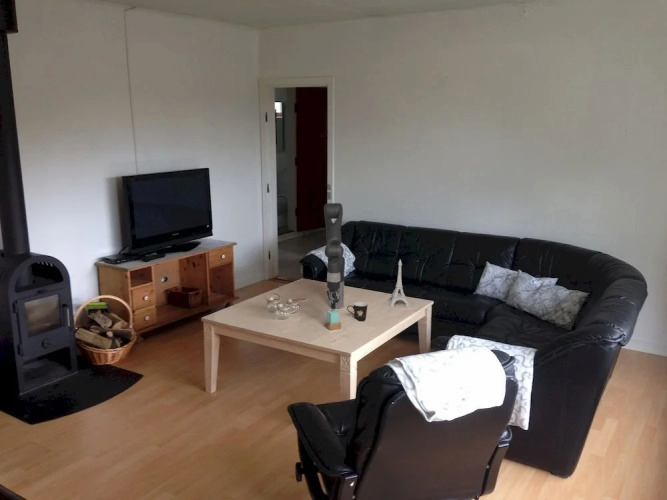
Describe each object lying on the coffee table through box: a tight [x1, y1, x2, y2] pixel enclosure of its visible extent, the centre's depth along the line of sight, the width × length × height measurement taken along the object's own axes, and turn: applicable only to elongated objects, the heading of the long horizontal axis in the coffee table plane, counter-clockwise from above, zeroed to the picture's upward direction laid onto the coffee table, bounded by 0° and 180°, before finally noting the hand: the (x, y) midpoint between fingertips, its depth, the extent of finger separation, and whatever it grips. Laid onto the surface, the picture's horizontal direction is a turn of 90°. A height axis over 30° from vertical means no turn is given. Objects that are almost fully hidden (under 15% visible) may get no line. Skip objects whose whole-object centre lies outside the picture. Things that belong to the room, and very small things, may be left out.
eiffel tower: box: [386, 259, 411, 308], centre depth 394 cm, size 13×13×30 cm
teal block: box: [326, 309, 340, 324], centre depth 343 cm, size 5×5×6 cm
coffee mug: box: [347, 301, 369, 322], centre depth 364 cm, size 12×9×10 cm
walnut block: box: [324, 320, 342, 332], centre depth 344 cm, size 7×7×4 cm
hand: (333, 309), depth 342 cm, fingers closed
